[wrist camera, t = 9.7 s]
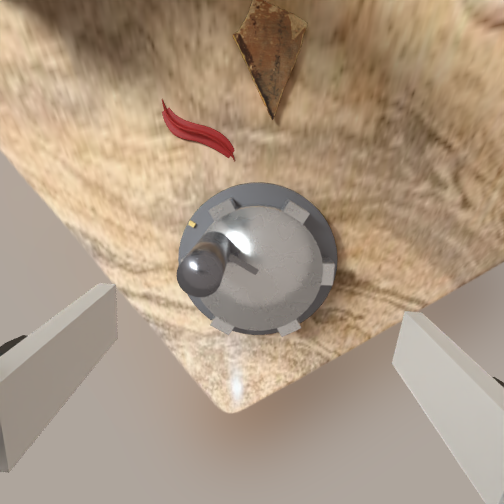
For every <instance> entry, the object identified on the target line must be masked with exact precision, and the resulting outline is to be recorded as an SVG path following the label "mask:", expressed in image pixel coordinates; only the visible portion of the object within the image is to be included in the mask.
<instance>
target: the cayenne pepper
mask: <svg viewBox="0 0 504 504" xmlns="http://www.w3.org/2000/svg"><path fill="white" fill-rule="evenodd" d="M162 103H163V107H164V111H163V112H162V114H163V118H164V121H165V123H166V125H167V127H168V128H169V130H170V131H171V132H172V133H173V134H174V135H175V136H177V137H179V138H182V139H186V140H192V141H197V142H200V143H202V144H205V145H207V146H209V147H211V148H213V149H215V150H217V151H218V152H220V153H222V154H223V155H225V156H226V157H228V158H229V157H230V156H231V157H232V158H233V159H234V156H233V152H234V148H233V146H232V144H231V143H230V141H229V140H228V139H227V138H226V137H225V136H224V135H223V134H221V133H220V132H218V131H216V130H214V129H212V128H210V127H207V126H203V125H199V124H195V123H192V122H189V121H186V120H184V119H182V118H180V117H178V116H177V115H175V114H174V113H173V112H172V111H171V109H170V108H168V109H167V108H166V106H165V104H164V102H163V99H162ZM234 162H235V160H234Z"/></svg>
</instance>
